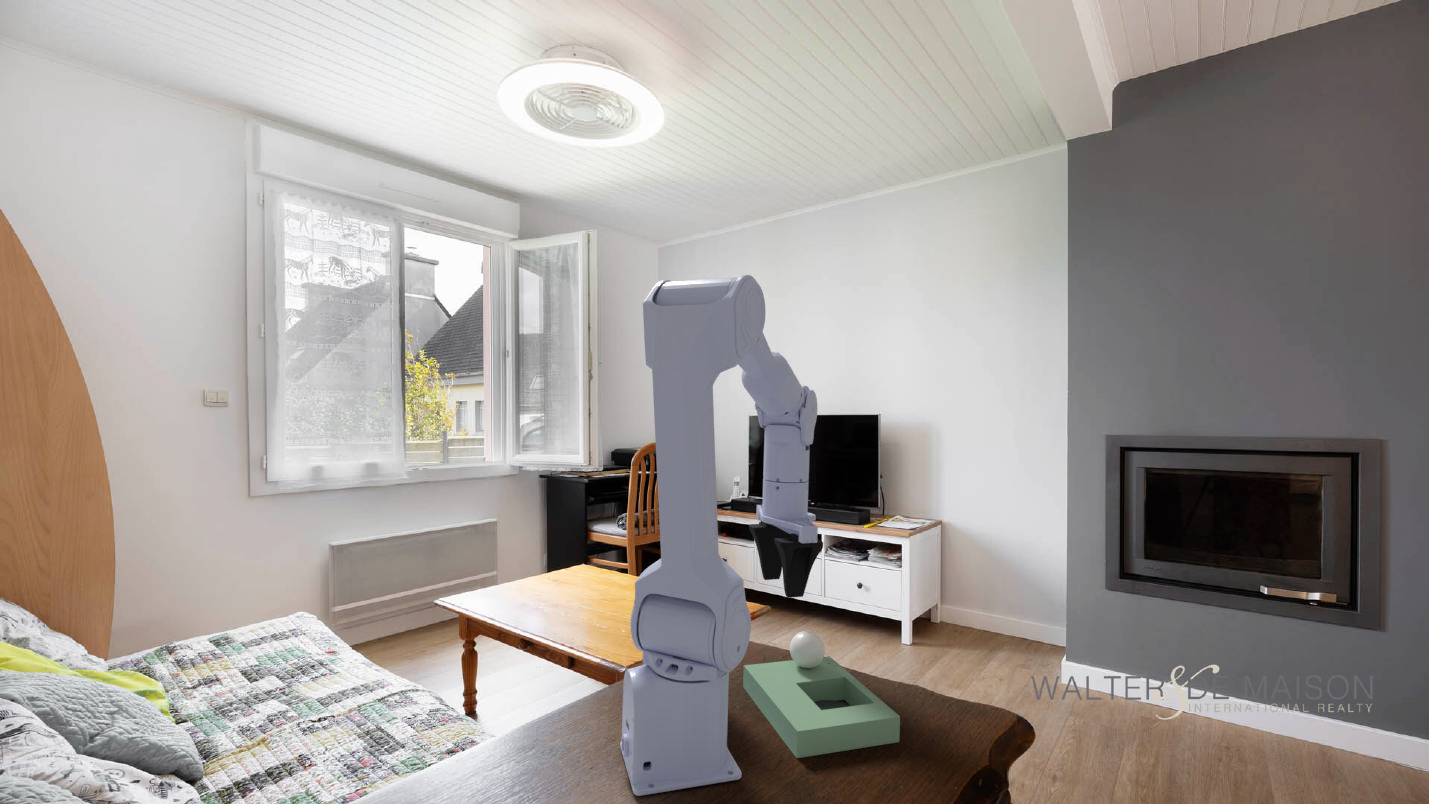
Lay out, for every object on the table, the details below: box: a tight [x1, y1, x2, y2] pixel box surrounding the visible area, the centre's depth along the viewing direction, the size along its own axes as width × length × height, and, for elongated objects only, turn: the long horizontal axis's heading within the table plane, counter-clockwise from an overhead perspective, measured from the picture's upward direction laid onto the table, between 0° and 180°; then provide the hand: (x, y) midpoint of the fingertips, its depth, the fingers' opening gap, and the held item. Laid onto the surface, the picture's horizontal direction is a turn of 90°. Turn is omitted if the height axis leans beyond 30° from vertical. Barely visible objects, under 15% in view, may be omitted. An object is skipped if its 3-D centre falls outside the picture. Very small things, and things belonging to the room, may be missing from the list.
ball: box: [789, 630, 826, 668], centre depth 71 cm, size 4×4×4 cm
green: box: [742, 655, 901, 759], centre depth 66 cm, size 11×14×2 cm
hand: (782, 587), depth 79 cm, fingers open, 7 cm apart
